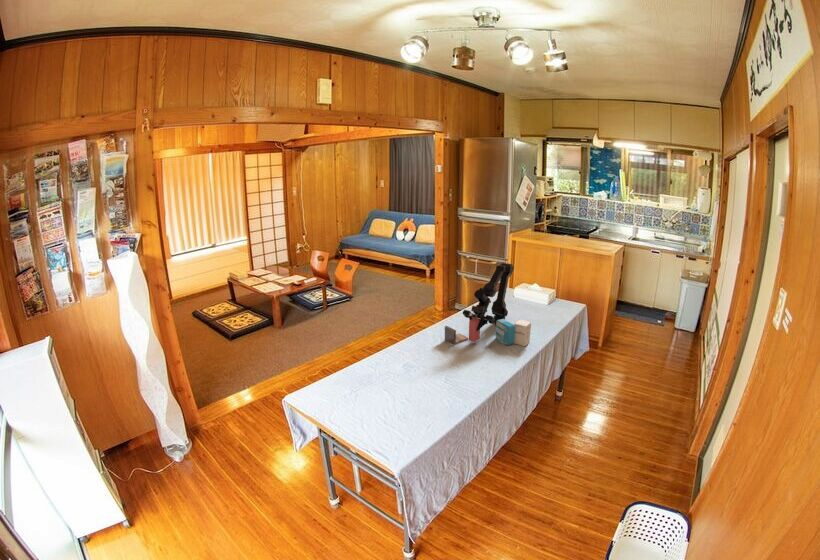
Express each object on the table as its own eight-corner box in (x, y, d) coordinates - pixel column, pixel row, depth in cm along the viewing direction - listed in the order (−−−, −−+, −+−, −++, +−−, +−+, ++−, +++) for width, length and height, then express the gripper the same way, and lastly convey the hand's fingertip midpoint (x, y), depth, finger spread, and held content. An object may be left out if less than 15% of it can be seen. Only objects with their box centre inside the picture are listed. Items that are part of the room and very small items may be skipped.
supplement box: (512, 343, 245) (513, 323, 241) (518, 338, 250) (519, 319, 246) (524, 346, 240) (526, 326, 236) (530, 341, 246) (531, 321, 242)
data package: (495, 338, 252) (496, 319, 248) (501, 336, 253) (502, 318, 250) (508, 346, 241) (509, 327, 238) (514, 344, 243) (515, 325, 239)
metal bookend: (446, 339, 251) (446, 325, 248) (455, 344, 245) (455, 330, 242) (444, 340, 250) (444, 326, 247) (453, 345, 244) (453, 330, 241)
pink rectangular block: (473, 336, 249) (474, 317, 245) (479, 338, 247) (480, 318, 243) (468, 340, 244) (469, 320, 240) (474, 342, 242) (475, 322, 238)
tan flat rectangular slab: (458, 335, 257) (458, 333, 256) (468, 339, 250) (468, 337, 250) (446, 339, 251) (446, 337, 251) (455, 344, 245) (455, 342, 245)
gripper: (464, 296, 246) (454, 320, 242) (493, 303, 236) (483, 328, 231) (470, 305, 255) (461, 328, 250) (499, 311, 244) (489, 336, 239)
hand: (473, 330), depth 242 cm, fingers closed on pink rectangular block, 4 cm apart
